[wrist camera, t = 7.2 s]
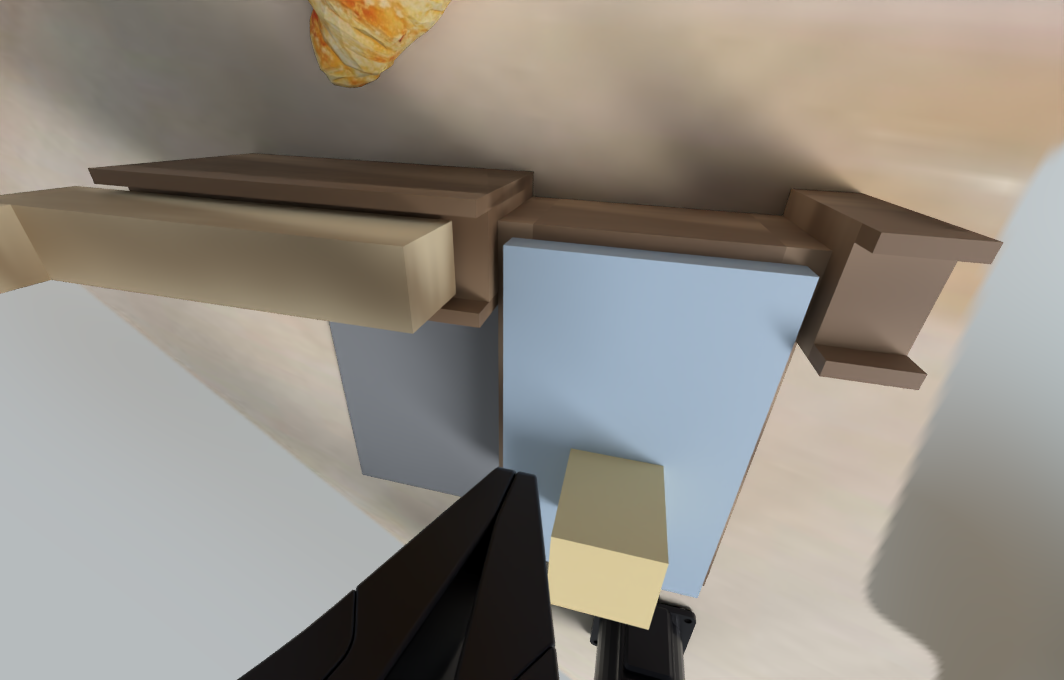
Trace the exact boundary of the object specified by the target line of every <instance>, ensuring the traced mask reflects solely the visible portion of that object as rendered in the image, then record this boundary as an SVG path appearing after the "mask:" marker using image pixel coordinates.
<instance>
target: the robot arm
mask: <svg viewBox="0 0 1064 680" xmlns="http://www.w3.org/2000/svg"><path fill="white" fill-rule="evenodd" d="M695 624H696V616H695V614H694V613H693V612H691V611H688V610H684V609H680V608H676V607H672V606H668V605H664V604H660V603H657V604H656V607H655V611H654V614H653V617H652V620H651V624H650V627H649V630H647V629H644V628H640V627H636V626H632V625H628V624H625V623H621V622H617V621H613V620H610V619H606V618H602V617H598V616H594V620H593V625H592V631H591V637H590V642H591V644H593V645H595V646H597V654H596V665H595V676H594V680H685V674H684V659H683V655H684V652H685V650H686V647H687V644H688V642H689V639H690V637H691V634H692V632H693V629H694V627H695ZM237 680H559V672H558V663H557V654H556V649H555V637H554V628H553V619H552V610H551V601H550V591H549V582H548V573H547V564H546V555H545V545H544V536H543V527H542V518H541V509H540V499H539V490H538V481H537V476H536V475H535V474H531V473H526V472H522V471H519V472H517V473H516V471H515V470H512V469H507V468H502V467H497V468H495V469H494V470H492V471H491V472H490V473H489V474H488V475H487V476H485V477H484V478H483V479H482V480H481V481H480V482H478V483H477V484H476V485H475V486H474V487H473V488H471V489H470V490H469V491H468V492H467V493H466V494H464V495H463V496H462V497H461V498H460V499H459V500H457V501H456V502H455V503H454V504H453V505H452V506H450V507H449V508H448V509H447V510H446V511H445V512H443V513H442V514H441V515H440V516H439V517H437V518H436V519H435V520H434V521H433V522H432V523H430V524H429V525H428V526H427V527H426V528H425V529H423V530H422V531H421V532H420V533H419V534H418V535H416V536H415V537H414V538H413V539H412V540H411V541H409V542H408V543H407V544H406V545H405V546H404V547H402V548H401V549H400V550H399V551H398V552H397V553H395V554H394V555H393V556H392V557H391V558H390V559H388V560H387V561H386V562H385V563H384V564H383V565H381V566H380V567H379V568H378V569H377V570H375V571H374V572H373V573H372V574H371V575H370V576H368V577H367V578H366V579H365V580H364V581H363V582H361V583H360V584H359V585H358V586H357V588H356V591H355V590H352V591H351V592H349V593H348V594H347V595H346V596H345V597H344V598H342V599H341V600H340V601H339V602H338V603H337V604H335V605H334V606H333V607H332V608H331V609H329V610H328V611H327V612H326V613H325V614H323V615H322V616H321V617H320V618H318V619H317V620H316V621H315V622H314V623H312V624H311V625H310V626H309V627H307V628H306V629H305V630H304V631H302V632H301V633H300V634H299V635H297V636H296V637H294V638H293V639H292V640H291V641H289V642H288V643H286V644H285V645H284V646H282V647H281V648H280V649H279V650H277V651H276V652H275V653H273V654H272V655H270V656H269V657H268V658H266V659H265V660H264V661H262V662H261V663H260V664H258V665H257V666H256V667H254V668H253V669H251V670H250V671H248V672H247V673H246V674H244V675H243V676H242V677H240V678H239V679H237Z"/></svg>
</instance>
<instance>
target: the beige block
mask: <svg viewBox="0 0 1064 680" xmlns="http://www.w3.org/2000/svg"><path fill="white" fill-rule="evenodd" d="M48 280H56V281H63V282H69V283H76V284H83V285H89V286H96V287H103V288H109V289H116V290H123V291H130V292H136V293H143V294H150V295H156V296H163V297H170V298H176V299H183V300H190V301H197V302H203V303H210V304H217V305H223V306H230V307H237V308H243V309H250V310H257V311H263V312H270V313H277V314H284V315H290V316H297V317H304V318H310V319H317V320H324V321H330V322H337V323H344V324H351V325H357V326H364V327H371V328H377V329H384V330H391V331H397V332H404V333H411V334H413V333H414V332H416V331H417V330H418V329H419V328H420V327H421V326H422V325H423V324H424V323H425V322H426V321H427V320H428V319H430V318H431V317H432V316H433V315H434V314H435V313H436V312H437V311H438V310H439V309H440V308H441V307H442V306H443V305H445V304H446V303H447V302H448V301H449V300H450V299H451V298H452V297H453V296H454V295H455V294H456V285H455V267H454V249H453V232H452V221H450V220H439V219H428V218H417V217H406V216H395V215H385V214H374V213H363V212H352V211H341V210H330V209H319V208H308V207H298V206H287V205H276V204H265V203H254V202H243V201H232V200H222V199H211V198H200V197H189V196H178V195H167V194H156V193H145V192H135V191H124V190H113V189H102V188H91V187H80V186H72V187H64V188H56V189H47V190H39V191H31V192H22V193H14V194H6V195H0V294H1V293H5V292H8V291H12V290H15V289H19V288H23V287H27V286H30V285H34V284H38V283H41V282H45V281H48Z"/></svg>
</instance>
